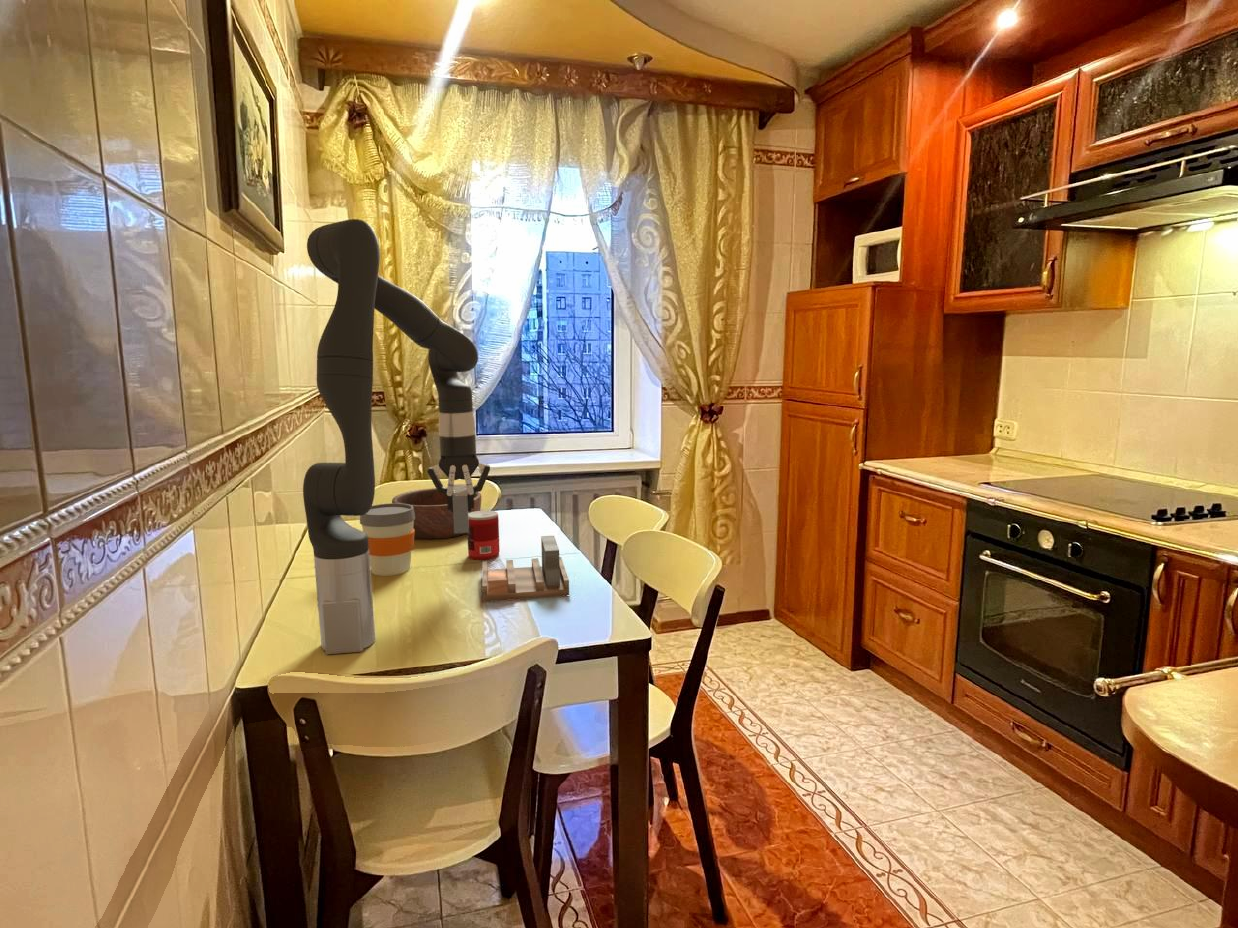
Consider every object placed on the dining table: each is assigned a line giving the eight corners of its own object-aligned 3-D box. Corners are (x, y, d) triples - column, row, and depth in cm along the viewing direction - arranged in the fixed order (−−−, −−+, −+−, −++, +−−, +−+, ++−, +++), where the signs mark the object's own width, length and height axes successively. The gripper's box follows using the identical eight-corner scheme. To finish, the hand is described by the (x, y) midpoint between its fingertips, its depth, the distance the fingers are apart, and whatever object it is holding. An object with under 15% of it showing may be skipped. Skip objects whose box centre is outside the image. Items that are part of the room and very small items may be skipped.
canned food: (505, 553, 185) (504, 512, 183) (485, 562, 178) (483, 518, 176) (483, 549, 189) (481, 508, 187) (462, 557, 182) (460, 515, 180)
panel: (468, 532, 152) (467, 495, 150) (454, 533, 151) (452, 496, 150) (468, 518, 163) (466, 484, 162) (455, 519, 163) (453, 484, 161)
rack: (569, 595, 154) (568, 553, 152) (482, 601, 151) (481, 558, 149) (561, 571, 171) (560, 532, 169) (483, 576, 167) (481, 536, 166)
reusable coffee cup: (402, 579, 166) (398, 516, 163) (352, 576, 168) (348, 514, 165) (427, 563, 178) (423, 504, 175) (380, 560, 180) (376, 502, 178)
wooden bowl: (410, 520, 221) (408, 487, 219) (491, 520, 220) (489, 487, 218) (380, 542, 197) (378, 506, 195) (471, 542, 196) (469, 506, 194)
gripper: (422, 436, 148) (427, 517, 152) (491, 433, 151) (494, 513, 154) (424, 431, 156) (429, 509, 159) (490, 429, 158) (493, 505, 162)
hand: (461, 510), depth 157 cm, fingers closed on panel, 3 cm apart
